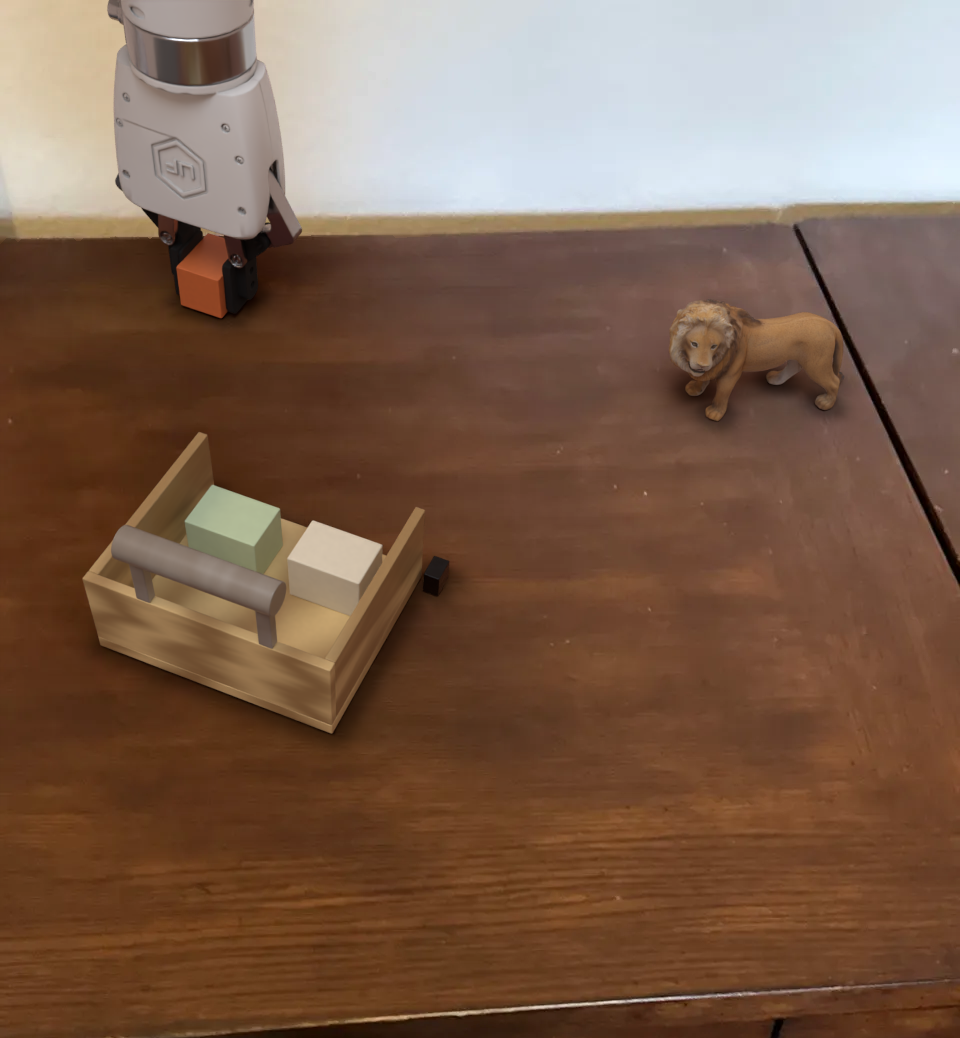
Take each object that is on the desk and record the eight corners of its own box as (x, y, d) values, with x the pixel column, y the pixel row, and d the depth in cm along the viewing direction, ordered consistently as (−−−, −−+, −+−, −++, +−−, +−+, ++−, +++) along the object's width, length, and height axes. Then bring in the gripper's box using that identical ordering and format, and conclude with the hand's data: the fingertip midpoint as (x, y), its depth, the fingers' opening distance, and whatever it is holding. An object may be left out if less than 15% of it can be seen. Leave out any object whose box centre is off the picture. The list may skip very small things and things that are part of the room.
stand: (182, 505, 77) (179, 487, 76) (195, 488, 78) (192, 470, 76) (437, 596, 74) (439, 579, 73) (448, 578, 75) (449, 560, 74)
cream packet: (289, 594, 72) (286, 558, 69) (313, 556, 74) (312, 519, 71) (359, 620, 71) (359, 584, 69) (382, 580, 73) (383, 544, 70)
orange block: (221, 318, 87) (217, 280, 85) (180, 305, 88) (175, 266, 85) (251, 283, 90) (248, 245, 87) (211, 270, 90) (207, 232, 88)
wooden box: (94, 653, 69) (57, 523, 61) (208, 500, 77) (189, 366, 68) (327, 742, 67) (322, 620, 59) (421, 576, 74) (429, 447, 66)
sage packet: (189, 558, 73) (183, 520, 70) (216, 521, 75) (211, 483, 72) (257, 583, 72) (254, 546, 70) (283, 545, 74) (280, 508, 72)
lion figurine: (669, 446, 83) (697, 338, 76) (636, 393, 86) (660, 285, 79) (858, 405, 87) (903, 299, 80) (821, 356, 90) (860, 250, 83)
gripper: (34, 29, 73) (85, 288, 88) (287, 106, 71) (297, 360, 85) (103, -24, 78) (141, 232, 92) (345, 47, 75) (344, 298, 90)
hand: (216, 291), depth 89 cm, fingers closed on orange block, 3 cm apart
